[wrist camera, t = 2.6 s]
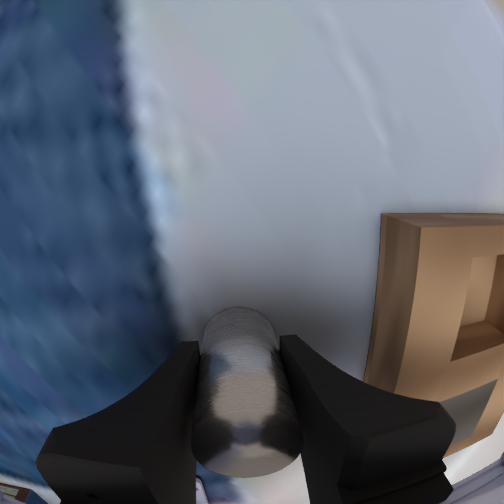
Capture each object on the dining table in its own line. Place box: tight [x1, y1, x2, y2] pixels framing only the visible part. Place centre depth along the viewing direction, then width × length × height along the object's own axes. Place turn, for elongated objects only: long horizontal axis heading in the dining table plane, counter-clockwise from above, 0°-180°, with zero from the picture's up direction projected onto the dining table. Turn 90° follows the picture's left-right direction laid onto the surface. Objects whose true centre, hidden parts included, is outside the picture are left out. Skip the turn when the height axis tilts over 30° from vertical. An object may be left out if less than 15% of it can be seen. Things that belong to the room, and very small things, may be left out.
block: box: [363, 213, 504, 458], centre depth 13 cm, size 14×10×3 cm
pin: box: [191, 308, 304, 478], centre depth 10 cm, size 3×3×6 cm
